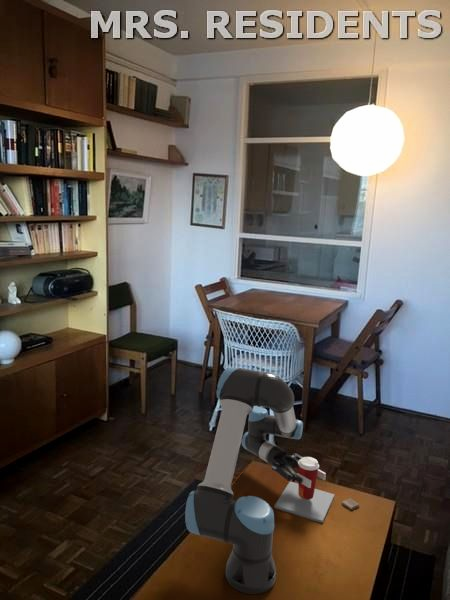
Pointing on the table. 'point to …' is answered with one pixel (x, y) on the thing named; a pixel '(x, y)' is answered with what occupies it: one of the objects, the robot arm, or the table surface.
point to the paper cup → (308, 476)
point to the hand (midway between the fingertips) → (317, 480)
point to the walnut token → (350, 504)
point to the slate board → (305, 503)
